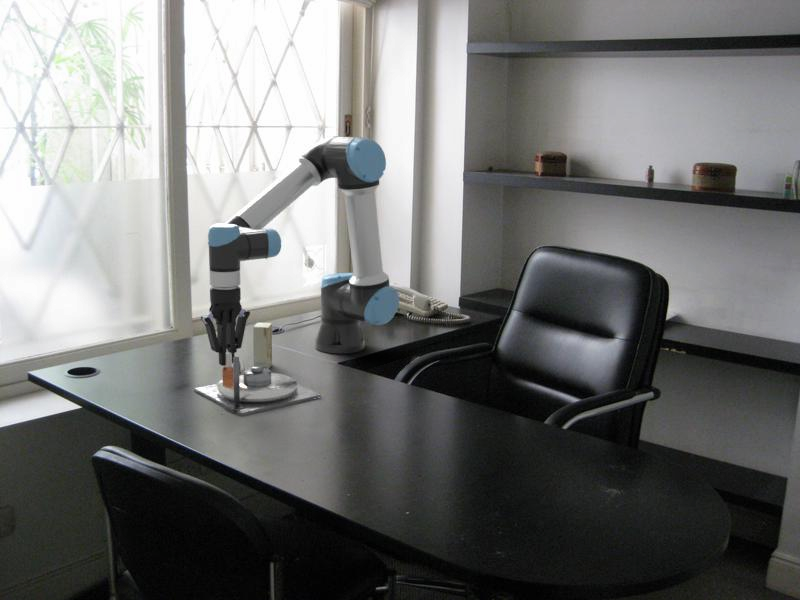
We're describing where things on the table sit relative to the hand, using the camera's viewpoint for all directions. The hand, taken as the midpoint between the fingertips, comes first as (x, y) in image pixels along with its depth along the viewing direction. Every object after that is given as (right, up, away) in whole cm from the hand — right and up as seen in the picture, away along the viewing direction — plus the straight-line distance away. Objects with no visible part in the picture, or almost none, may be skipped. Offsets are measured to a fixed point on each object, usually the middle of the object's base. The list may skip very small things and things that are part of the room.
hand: (227, 376), depth 219 cm
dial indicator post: (+5, -7, -13) cm, 15 cm away
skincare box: (+6, +1, +22) cm, 23 cm away
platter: (+8, -3, -2) cm, 9 cm away
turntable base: (+8, -4, -1) cm, 9 cm away
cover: (+8, -2, -2) cm, 8 cm away
